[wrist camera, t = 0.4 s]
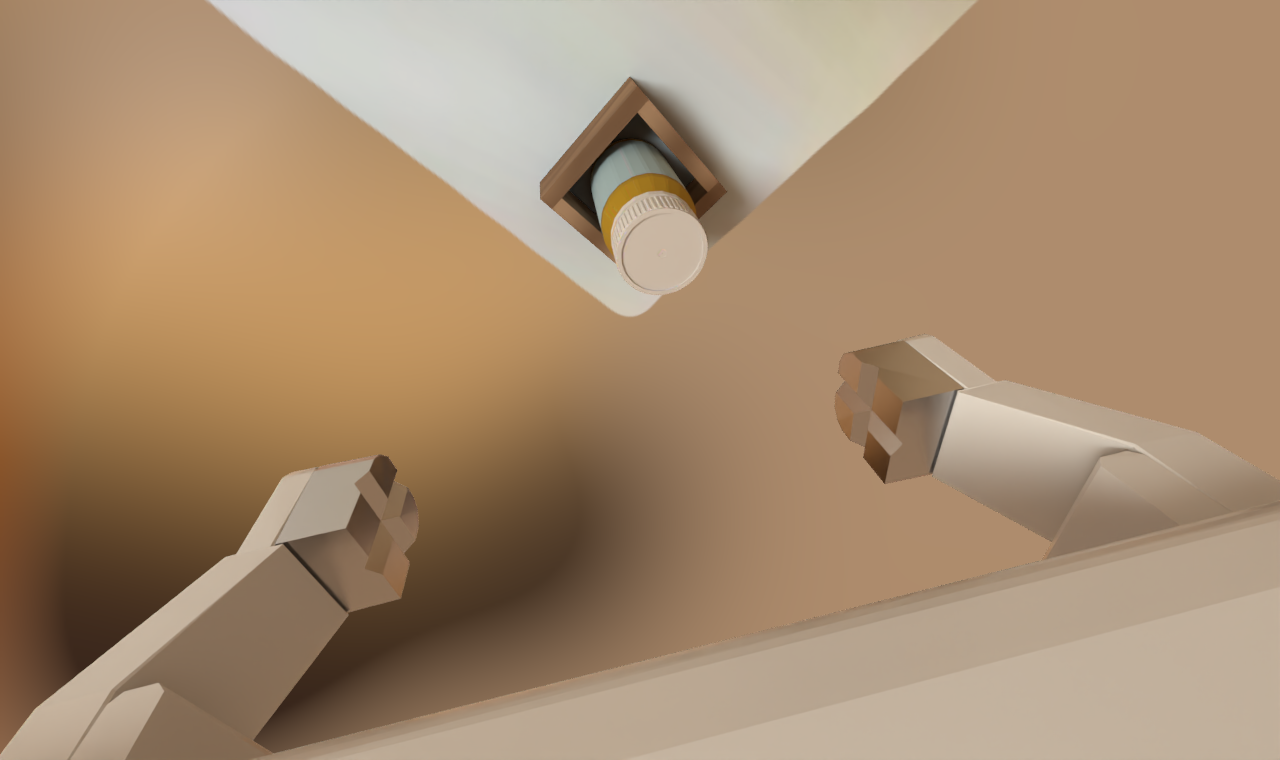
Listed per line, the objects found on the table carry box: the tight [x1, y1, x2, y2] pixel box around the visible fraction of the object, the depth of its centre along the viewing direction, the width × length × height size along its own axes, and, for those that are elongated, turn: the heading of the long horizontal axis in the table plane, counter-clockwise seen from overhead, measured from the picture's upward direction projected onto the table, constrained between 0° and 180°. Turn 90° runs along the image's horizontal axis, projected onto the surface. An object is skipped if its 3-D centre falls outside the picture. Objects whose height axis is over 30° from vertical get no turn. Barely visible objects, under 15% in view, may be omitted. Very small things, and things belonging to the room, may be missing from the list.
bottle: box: [590, 138, 708, 295], centre depth 37 cm, size 7×7×15 cm
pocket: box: [540, 77, 727, 263], centre depth 42 cm, size 11×11×4 cm
